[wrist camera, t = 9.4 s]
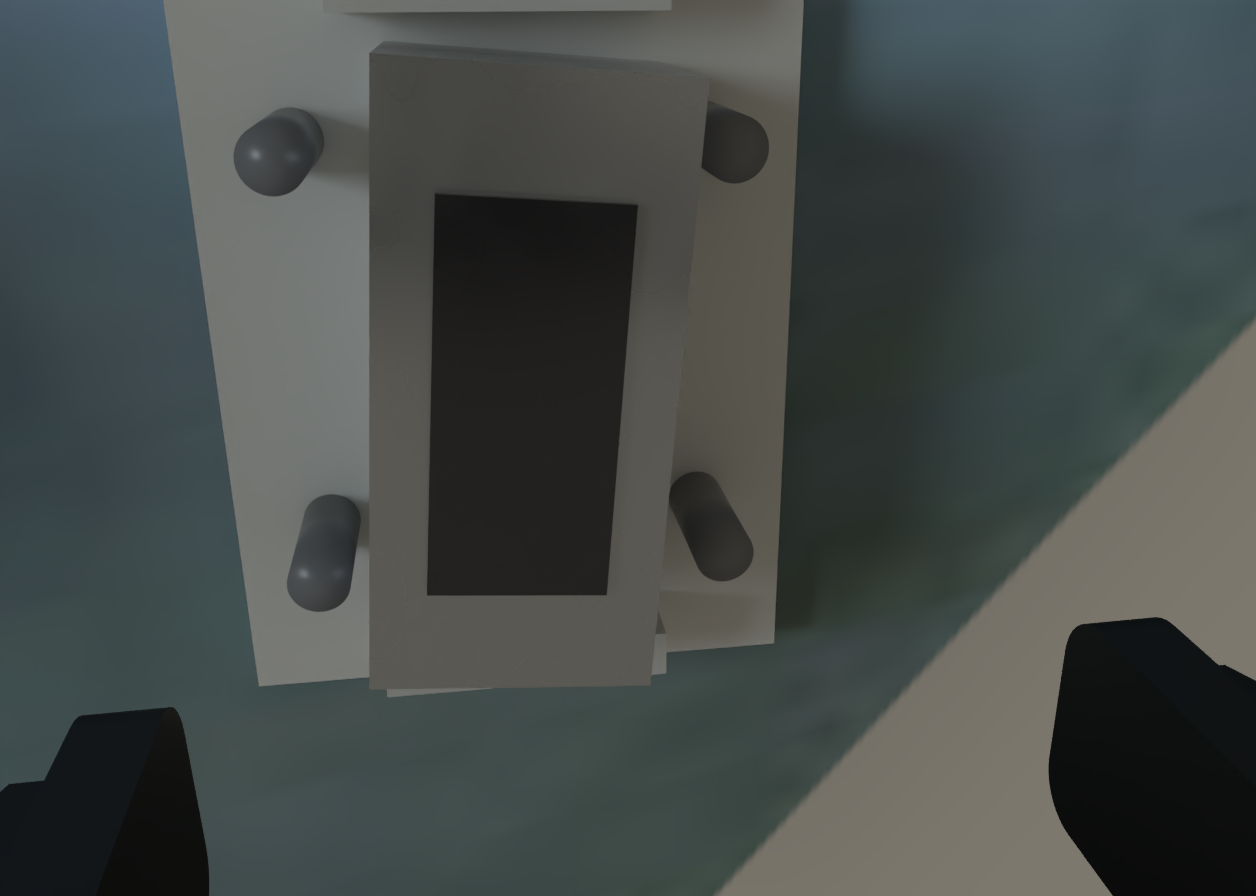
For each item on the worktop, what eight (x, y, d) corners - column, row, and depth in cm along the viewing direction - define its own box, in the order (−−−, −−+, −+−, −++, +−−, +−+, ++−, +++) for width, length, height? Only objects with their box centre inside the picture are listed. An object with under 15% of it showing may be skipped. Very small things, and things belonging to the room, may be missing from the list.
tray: (162, -87, 22) (106, -104, 18) (793, -85, 23) (860, -100, 20) (264, 663, 27) (238, 766, 24) (763, 622, 29) (810, 714, 25)
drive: (384, 41, 22) (368, 53, 17) (655, 61, 23) (711, 78, 18) (382, 565, 26) (368, 693, 21) (614, 566, 27) (651, 690, 22)
